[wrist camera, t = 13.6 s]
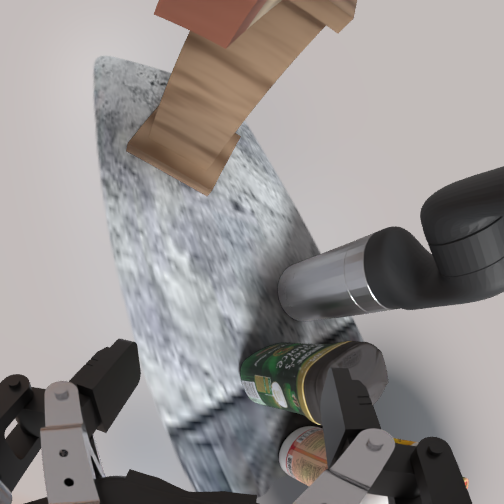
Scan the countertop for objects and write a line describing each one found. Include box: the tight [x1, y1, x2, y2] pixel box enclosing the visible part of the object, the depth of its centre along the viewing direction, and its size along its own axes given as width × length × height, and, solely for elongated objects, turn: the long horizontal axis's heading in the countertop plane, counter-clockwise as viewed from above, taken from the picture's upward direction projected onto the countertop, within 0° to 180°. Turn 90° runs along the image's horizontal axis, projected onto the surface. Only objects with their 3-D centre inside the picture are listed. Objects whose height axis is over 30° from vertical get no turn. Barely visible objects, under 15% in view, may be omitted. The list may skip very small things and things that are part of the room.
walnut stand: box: [126, 0, 357, 196], centre depth 30 cm, size 12×14×33 cm
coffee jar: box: [240, 341, 388, 425], centre depth 33 cm, size 10×8×19 cm
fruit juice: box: [279, 426, 468, 504], centre depth 28 cm, size 9×9×28 cm
